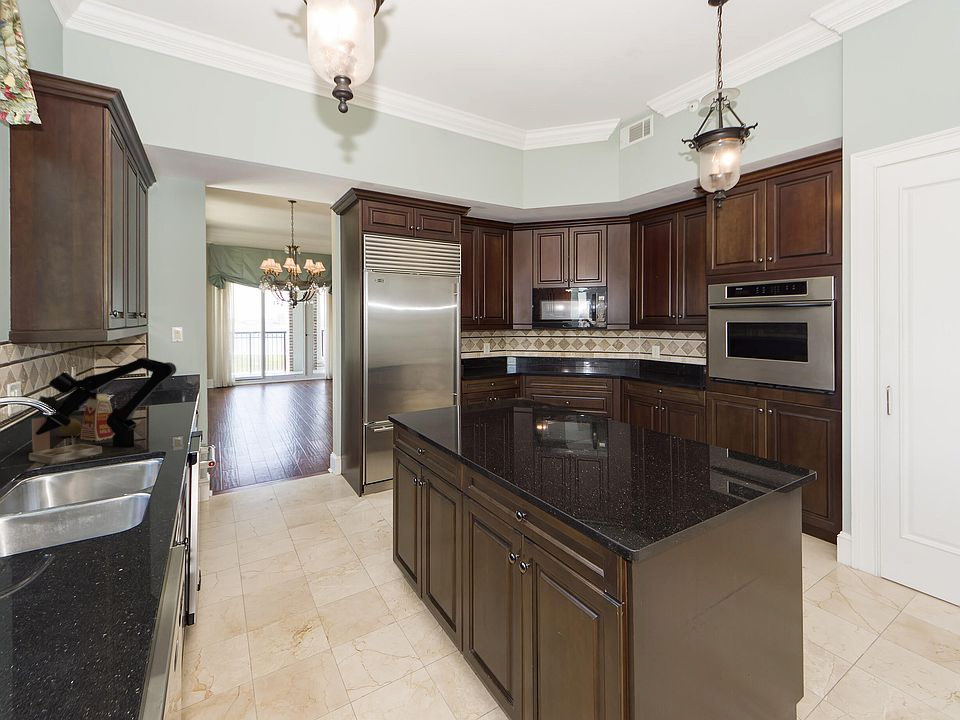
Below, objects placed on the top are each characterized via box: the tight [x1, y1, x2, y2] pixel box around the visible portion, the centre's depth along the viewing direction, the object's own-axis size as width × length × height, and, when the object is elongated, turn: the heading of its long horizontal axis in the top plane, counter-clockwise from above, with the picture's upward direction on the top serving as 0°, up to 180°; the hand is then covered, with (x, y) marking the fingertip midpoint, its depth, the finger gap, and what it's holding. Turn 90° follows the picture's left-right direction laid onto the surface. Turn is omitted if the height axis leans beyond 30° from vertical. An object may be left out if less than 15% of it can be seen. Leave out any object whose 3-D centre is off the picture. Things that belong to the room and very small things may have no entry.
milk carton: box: [80, 393, 114, 442], centre depth 201 cm, size 9×9×20 cm
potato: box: [58, 417, 82, 437], centre depth 202 cm, size 7×8×8 cm
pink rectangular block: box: [31, 417, 51, 453], centre depth 175 cm, size 4×2×12 cm, turn 139°
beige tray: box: [28, 443, 103, 465], centre depth 170 cm, size 16×12×3 cm
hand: (36, 433), depth 174 cm, fingers closed on pink rectangular block, 2 cm apart
